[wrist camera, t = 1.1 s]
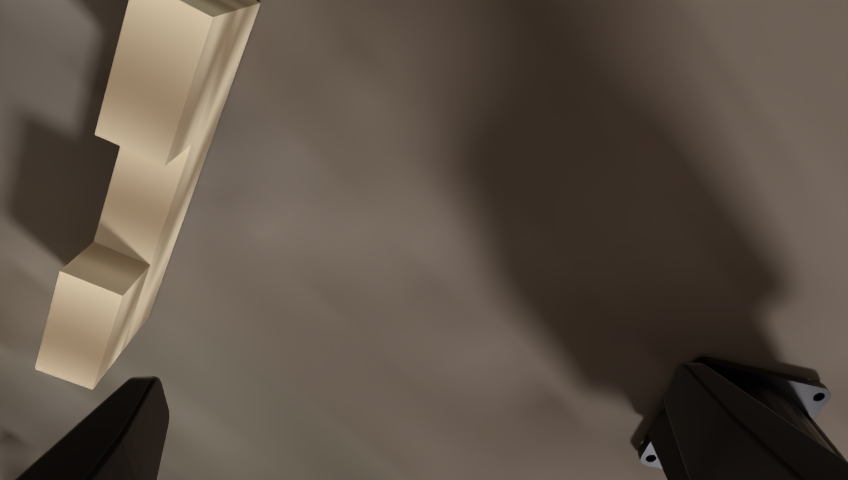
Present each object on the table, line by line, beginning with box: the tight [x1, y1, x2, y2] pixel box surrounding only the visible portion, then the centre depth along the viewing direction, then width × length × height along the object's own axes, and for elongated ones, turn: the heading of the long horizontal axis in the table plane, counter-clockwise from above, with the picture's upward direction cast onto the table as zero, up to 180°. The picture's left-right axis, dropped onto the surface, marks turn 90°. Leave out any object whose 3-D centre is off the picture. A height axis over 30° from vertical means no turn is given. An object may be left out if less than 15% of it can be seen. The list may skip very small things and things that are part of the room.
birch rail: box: [35, 0, 261, 390], centre depth 19 cm, size 14×2×4 cm, turn 152°
